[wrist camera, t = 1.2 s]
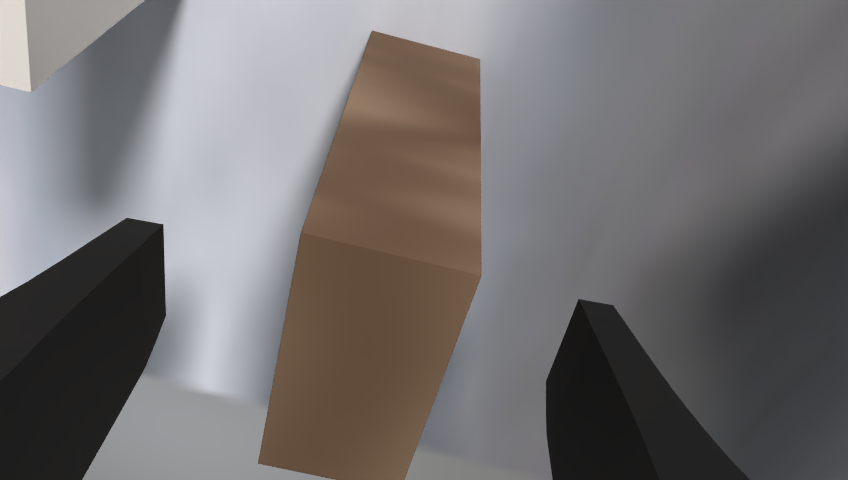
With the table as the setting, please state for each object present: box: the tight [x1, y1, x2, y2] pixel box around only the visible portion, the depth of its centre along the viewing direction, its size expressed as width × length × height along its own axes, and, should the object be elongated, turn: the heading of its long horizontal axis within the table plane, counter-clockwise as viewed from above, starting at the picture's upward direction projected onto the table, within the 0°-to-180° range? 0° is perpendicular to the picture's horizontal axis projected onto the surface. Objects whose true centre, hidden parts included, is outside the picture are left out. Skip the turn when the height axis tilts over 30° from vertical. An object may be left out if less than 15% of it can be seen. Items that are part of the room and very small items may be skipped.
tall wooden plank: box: [258, 31, 481, 480], centre depth 15 cm, size 2×5×8 cm, turn 166°
